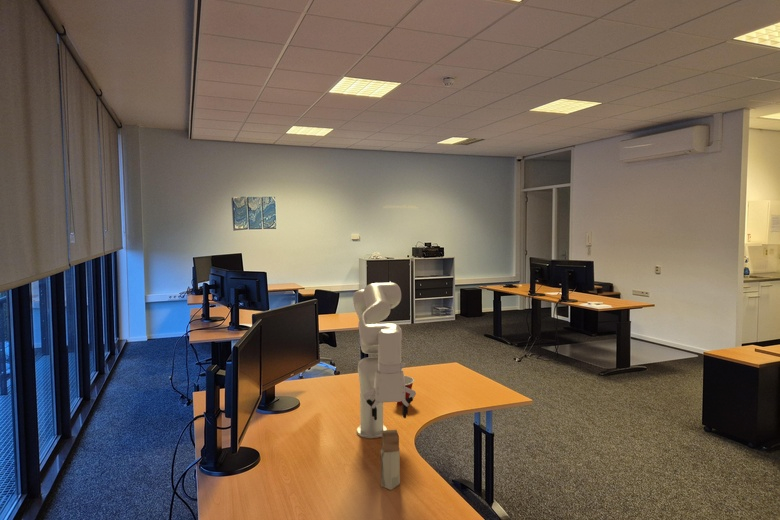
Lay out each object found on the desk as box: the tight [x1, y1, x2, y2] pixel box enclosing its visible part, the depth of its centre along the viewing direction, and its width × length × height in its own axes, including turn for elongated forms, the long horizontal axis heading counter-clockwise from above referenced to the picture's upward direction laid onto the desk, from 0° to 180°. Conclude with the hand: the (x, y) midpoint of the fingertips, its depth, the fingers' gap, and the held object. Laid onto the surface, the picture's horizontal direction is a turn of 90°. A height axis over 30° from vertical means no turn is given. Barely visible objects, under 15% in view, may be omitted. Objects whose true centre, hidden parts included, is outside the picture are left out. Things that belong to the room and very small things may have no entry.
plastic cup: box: [396, 375, 415, 406], centre depth 228 cm, size 11×11×12 cm
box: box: [380, 447, 401, 491], centre depth 157 cm, size 5×4×13 cm
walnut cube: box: [381, 429, 400, 452], centre depth 156 cm, size 5×5×5 cm
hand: (389, 417), depth 156 cm, fingers open, 9 cm apart
